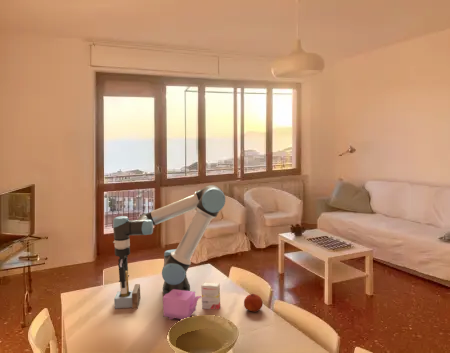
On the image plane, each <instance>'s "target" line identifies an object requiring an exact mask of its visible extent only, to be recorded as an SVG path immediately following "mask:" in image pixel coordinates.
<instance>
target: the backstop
mask: <svg viewBox="0 0 450 353" xmlns="http://www.w3.org/2000/svg"><path fill="white" fill-rule="evenodd" d="M132 291H133V292H132V305H133V307H132V309H133V310H134V309H136V310H137V309H138V308H139V305H140V301H141V283H135V284H134V286H133V289H132Z"/></svg>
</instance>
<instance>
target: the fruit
mask: <svg viewBox="0 0 450 353" xmlns="http://www.w3.org/2000/svg"><path fill="white" fill-rule="evenodd" d="M263 303H264V302H263V300H262V298H261V297H260V296H259V295H258V294H255V293H250V294H249V295H247V296H246V297H245V298H244V300H243V307H244V308H245V309H246V310H247V311H249V312H252V313H253V312H254V313H255V312H258V311H260V310H261V309H262V308H263Z"/></svg>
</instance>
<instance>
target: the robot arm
mask: <svg viewBox="0 0 450 353" xmlns="http://www.w3.org/2000/svg"><path fill="white" fill-rule="evenodd" d="M225 205H226V195H225V193H224V192H223V190H222V189H221V187H219V186H217V185H213V184H210V185H207V186H204V187H203V188H201V189H199V190H197V191H195V192H194V194H192V195H189V196H187V197H185V198H182V199H180V200H177V201H174V202H172V203H169V204H167V205H165V206H161V207H159V208H156V209H154V210H151V211H150V212H146V213H142V214H141V215H140V216H138V217H137V219H136V220H130V219H129V217H128V216H126V215H121V216H116V217H114V218H113V220H112V223H113V226H112V229H113V241H112V243H113V245H114V255H115V256H116V257H119V259H118V260H117V262H118V264H117V266H118V276H119V277H118V278H119V280H118V283H120V282H121V288H120V291H121V294H127V286H126V275H125V270H126V271H128V272H129V265H128V264H129V263H128V261H129V260H128V259H129V258H128V257H129V256H130V255H131V247H130V246H131V243H130V242H131V240H130V238H131V237H130V236H147V235H152V234H153V233H154V226H156V225H159V224H160V223H161V224H162V223H164V222H166V221H168V220H171V219H173V218H177V217H178V216H181V215H184V214H186V213H188V212H191V211H193V210H195V209H196V212H195V214H194V216H193V217H192V220H191V222H190V223H189V225H188V226H187V229H186V230H185V233H184V234H183V236H182V238H181V240H180V242H179V244H178V245H177V247H176V248H175V249H174V248H173V249H168V250H165V251H164V254H163V257H164V258H163V259H164V262H163V267H162V270H161V275H162V279H163V281H164V282H163V284H162V293H163V294H164V295H165V294H167V293H169V292H170V291H171V290H173V289H176V290H185V291H191V285H190V282H189V279H188V277H187V271H188V270H189V268H190V266H191V264H192V261H191V258H192V256H193V254H194V253H195V251H196V248H197V247H198V246H199V244H200V241H201V239H202V237H203V236H204V234H205V232H206V230H207V228H208V227H209V225H210V223H211V221H212V220H213V219H215V218H217V216H218V215H219V212H220V211H221V210H222V209H223V208H224V207H225ZM129 277H130V274H128V278H129Z"/></svg>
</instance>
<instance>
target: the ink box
mask: <svg viewBox="0 0 450 353" xmlns="http://www.w3.org/2000/svg"><path fill="white" fill-rule="evenodd" d="M220 286H221V285H220V283H219V282H205V281H204V282H203V283H202V284H201V287H200V288H201V289H200V291H201V296H202V297H201V307H202V310H203V309H204V310H205V309H206V310H207V309H208V310H220V307H221V287H220Z"/></svg>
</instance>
